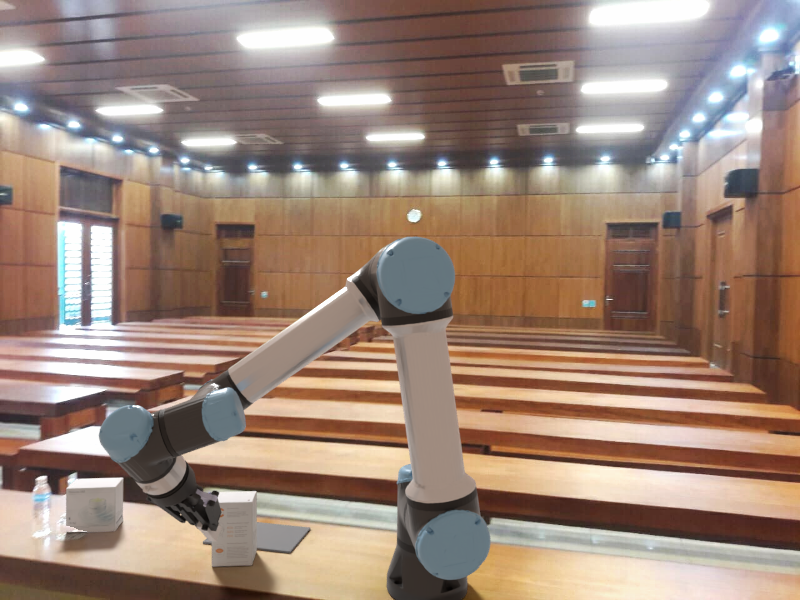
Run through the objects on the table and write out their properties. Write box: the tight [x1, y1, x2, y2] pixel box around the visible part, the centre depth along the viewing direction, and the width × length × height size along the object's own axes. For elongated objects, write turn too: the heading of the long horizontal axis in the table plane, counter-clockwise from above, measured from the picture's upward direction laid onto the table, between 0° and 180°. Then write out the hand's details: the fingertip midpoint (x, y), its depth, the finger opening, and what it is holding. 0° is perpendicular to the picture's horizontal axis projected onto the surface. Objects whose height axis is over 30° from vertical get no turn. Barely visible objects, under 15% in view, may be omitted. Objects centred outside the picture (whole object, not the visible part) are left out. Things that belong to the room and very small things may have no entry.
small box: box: [211, 490, 258, 568], centre depth 119 cm, size 8×6×13 cm
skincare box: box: [65, 477, 124, 533], centre depth 133 cm, size 10×6×10 cm, turn 99°
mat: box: [202, 521, 311, 554], centre depth 130 cm, size 20×12×1 cm, turn 79°
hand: (215, 534), depth 111 cm, fingers closed
